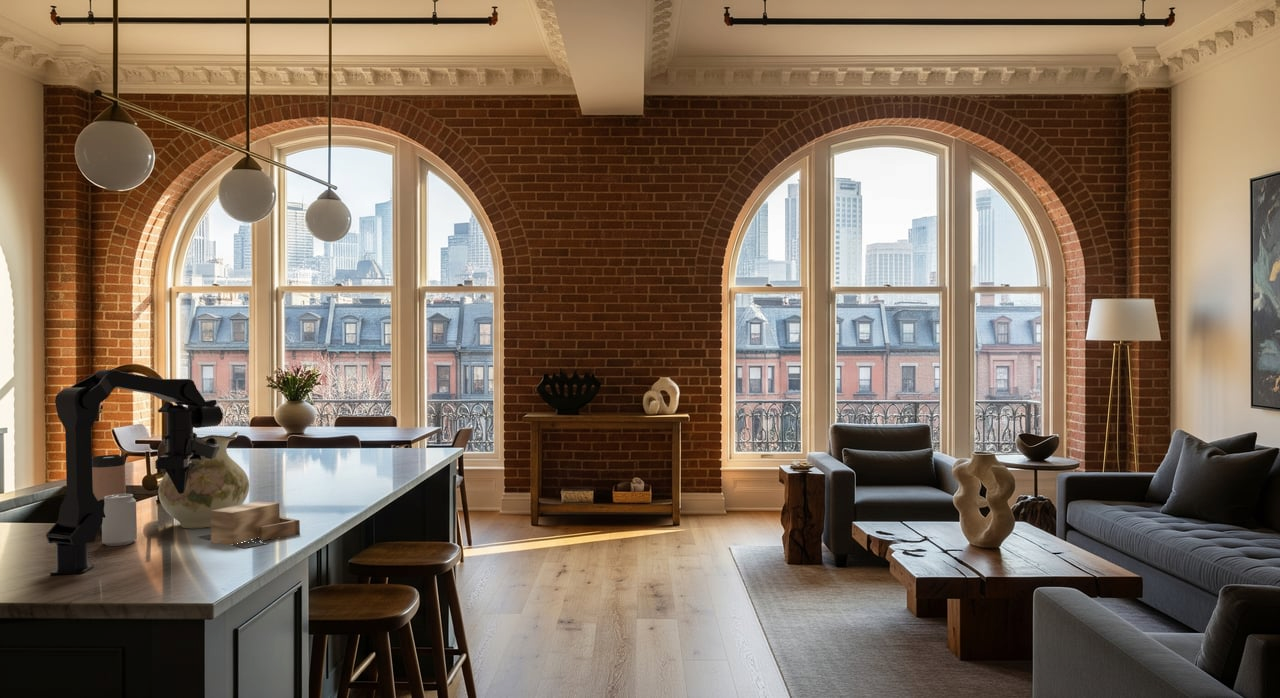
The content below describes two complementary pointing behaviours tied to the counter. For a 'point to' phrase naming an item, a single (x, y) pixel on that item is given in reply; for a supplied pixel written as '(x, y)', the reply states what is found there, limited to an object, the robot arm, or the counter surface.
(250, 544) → the plate
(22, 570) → the counter surface
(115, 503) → the can
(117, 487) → the travel mug
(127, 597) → the counter surface
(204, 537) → the trap mat left
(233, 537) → the oak block
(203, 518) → the pitcher
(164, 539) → the counter surface
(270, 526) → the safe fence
